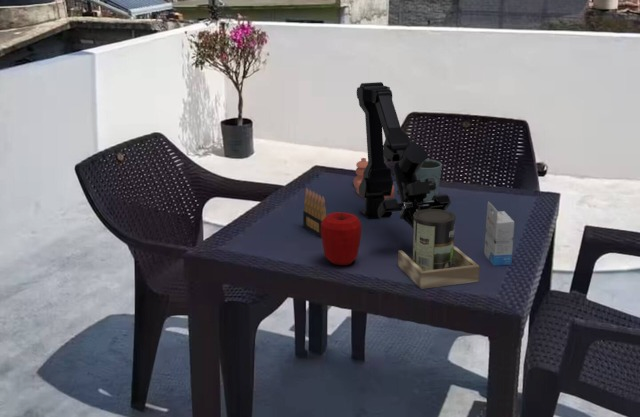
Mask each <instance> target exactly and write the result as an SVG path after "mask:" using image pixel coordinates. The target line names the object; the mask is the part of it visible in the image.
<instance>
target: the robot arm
mask: <svg viewBox="0 0 640 417" xmlns="http://www.w3.org/2000/svg"><path fill="white" fill-rule="evenodd" d="M356 97H357V98H356V99H358V105H359V107H360V108H361V110H362V111H363V113H364V115H365V116H364V118H365V132H366V133H365V134H366V147H367V148H366V150H367V161H368V164H367V166H366V168H365V170H364V172H363V179H362V181H361V183H360V185H359V194H360V195H361V196H362V197H363V198H362V197H361V196H360V195H359V194H358V195H359V196H360V197H361V198H362V199H364V198H365V199H364V201H365V202H364V203H365V204H364V210H360V213H361V214H362V215H363V216H365V217H366V218H367V219H375V218H376V219H380V220H381V219H387V218H391V216H392V215H393V212H400V215H399V219H400V220H404V221H405V222H406V223H407V224H408V225H409V226H410V227H411V228H412V229H413V230H414V218H413V215H414V213H415V212H417V211H420V210H425V209H440V210H446V211H447V210H448V207H449V206H450V205H451V204H452V201H451V197H450V196H449V195H448V194H447V193H445V194H444V193H443V194H438V195H434V196H433V198H432V199H431V200H429V201H424V200H423V199H424V198H426V197H427V195H426V194H428V193H429V194H430V191H433V190H435V189H436V183H435V180H434V178H427V179H425V182H421V181H420V180H418V178H417V175H416V172H418V171H419V169H420V168H421V166H422V165H423V163H424V161H425V160H426V159H427V157H428V156H427V155H428V154H427V151H426V150H425V149H424V147H422V146H420V145H419V144H417V141H415V140H413V141H411V138H410V137H409V135H408V134H407V133H406V132H405V131H403V130H402V127H401V124H400V120H399V117H398V114H397V110H396V108H395V105H394V101H393V92H392V90H391V87H390V86H386V85H384V83H383V82H381V81H380V82H361V83H360V84H359V87H357V88H356ZM383 135H384V136H383ZM384 137H385V140H384ZM385 160H386V161H387V162H390V163H395V164H394V166H393V167H392V169H391V168H390V167H388V166H387V165H386V163H385ZM391 170H392V171H391ZM392 176H393V177H394V179H395V180H393V177H392ZM394 181H395V184H396V187H397V190H396V193H397V195H398V196H399V198H400V201H401V203H400V202H398V200H397V199H396V198H389V199H384V196H391V192H392V186H393V185H394Z"/></svg>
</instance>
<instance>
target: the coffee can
mask: <svg viewBox="0 0 640 417" xmlns="http://www.w3.org/2000/svg"><path fill="white" fill-rule="evenodd" d="M456 217H457V216H456V214H455V213H453V212H452V211H450V210H447V209H446V210H440V209H425V210H420V211H417V212H415V213H414V215H413V218H414V229H413V237H412V239H413V241H412V260H413V261H414V262H415V263H416V264H417V265H418V266H419V267H420V268H421V269H422V270H423V271H428V270H436V269H444V268H452V267H453V265H454V264H453V248H454V246H455V245H454V244H455V224H456V223H455V222H456Z"/></svg>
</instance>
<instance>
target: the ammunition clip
mask: <svg viewBox="0 0 640 417" xmlns="http://www.w3.org/2000/svg"><path fill="white" fill-rule="evenodd" d="M303 203H304V204H303V205H304V207H303V208H304V210H303V213H302V214H303V215H302V216H303V219H302V220H303V221H302V222H303V223H302V228H303V227H304V229H305V230H306V231H308V230H309V231H308V232H310V231H311V232H310V233H312V234H313V233H314V235H315V236H316V237H318V238H320V239H322V236H321V222H322V221H323V220H324V218H325V217H326V216H327V210H326V201H325V197H324V195H322V196H321V194H318V192H316V193H315V191H314V190H313V191H312V190H311V189H308V187H306V188H305V193H304V202H303Z"/></svg>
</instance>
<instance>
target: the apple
mask: <svg viewBox="0 0 640 417" xmlns="http://www.w3.org/2000/svg"><path fill="white" fill-rule="evenodd" d="M321 236H322V238H321V240H322V247H323V252H324V257H325V258H326V259H327V260H328V261H329V262H330V263H332V264H333V265H336V266H337V265H338V266H347V265H350V264H352V263H353V262H354V260H356V258H358V255H359V253H358V252H359V249H360V244H361V239H362V238H361V237H362V221H361V220H360V219H359V217H358V216H357V215H356V214H354V213H353V214H352V213H348V212H342V211H337V212H331V213H329V214H326V217H325V218H324V220H323V221H322V222H321Z"/></svg>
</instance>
